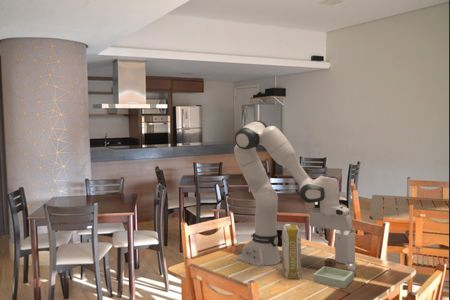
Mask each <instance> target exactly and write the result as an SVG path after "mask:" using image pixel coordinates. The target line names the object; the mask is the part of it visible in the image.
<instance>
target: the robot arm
mask: <svg viewBox="0 0 450 300" xmlns="http://www.w3.org/2000/svg"><path fill="white" fill-rule="evenodd" d="M234 142H235V146H234V147H233V148H234V149H233V152H234V156H235V158H236V162H237V164H238V167H239V169H240V171H241V173H242V175H243V177H244V179H245V181H246V184H247V186H248V187H249V190H250V192H251V194H252V196H253V198H254V200H255V202H254V203H255V211H254V212H255V215H254V230H255V232H254V233H252V234H251V235H250V237H251V238H252V239H251V240H250V241H248V242H247V243H246V244H245V245H244V246H243V247H242V249H241V253H240V254H238V256H237V258H236V259H237V260H238V261H241V262H244V263H247V264H250V265H253V266H257V267H260V266H272V265H277V264H279V263H280V262H281V261H282V260H281V257H280V254H279V253H280V252H279V246H277V245H278V234H277V226H278V225H277V224H278V222H277V221H278V219H277V218H278V217H277V215H278V205H279V200H278V199H279V197H278V193H277V191H276V190H275V189H274V188H273V186H272V184H271V181H270V179H269V176H268V174H267V172H266V169H265V167H264V165H263V162H262V160H261V159H260V156H259V153H258V152H257V147H259V145H260V146H262V147H264V149H265V150H266V151H267V153H268V154H269V156H270V157H271V158H272V159H273V161H274V162H275V163H277V164H278V165H279V166H281V167H284V168H285V169H287V171H289V173H290V174H291V176H292V177H293V178H294V180H295V181H296V183H297V184H298V187H299V196H300V198H301V200H302V201H303V202H305V203H308V204H312V203H318V202H319V207H311V208H309V212H308V213H309V214H308V215H309V218H308V224H309V226H310V227H311V228H312V227H314V228H315V229H316V231H317V232H318V237H321V238H323V237H324V232H322V230H321V229H328V230H335V231H336V230H340V232H341V234H340V235H338V239H342V235H343V234H344V232H345V231H350V230H351V229H353V221H352V216H351V215H350V214H349V213H350V212H351V210H350V208H349V207H345V206H343V205H341V204H340V200H339V195H340V187H339V181H338V178H336V176H334V175H331V174H321V175H319V176H318V177H317V178H315V179H314V178H312V177H310V176H309V174H308V173H307V172H306V170H305V169H304V168H303V166H302V165H301V163H300V162H299V160H298V157H297V154H296V152H295V149H294V148H293V146H292V144H291V142H290V140H288V138H287V137H286V136H285V134H284V133H283V132H282V131H281V130H280V129H279V128H278V127H277V126H275V125H269V126H268V125H267V123H266V122H264V121H261V120H253V121H251V122H249V123H247V124H245V125H244V126H243V127H241V128H239V129H238V130H237V131H236V132H235V135H234Z"/></svg>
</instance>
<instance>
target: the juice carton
mask: <svg viewBox="0 0 450 300" xmlns="http://www.w3.org/2000/svg"><path fill="white" fill-rule="evenodd" d="M282 226H283V230H282V247H281V252H282V256H281V257H282V260H281V261H282V269H283V270H282V271H283V273H284V276H285V278H286V279H300V278H301V274H302V243H301V242H302V239H301V237H302V236H301V232H300V229H299V227H298V225H297V224H290V223H286V224H283V225H282Z"/></svg>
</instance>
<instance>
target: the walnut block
mask: <svg viewBox="0 0 450 300" xmlns="http://www.w3.org/2000/svg"><path fill="white" fill-rule="evenodd" d="M323 261H324V263H323V266H326V267H331V268H336V263H337V262H336V260H335V259H334V258H329V257H327V258H325V259H324V260H323ZM336 269H337V268H336Z"/></svg>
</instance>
